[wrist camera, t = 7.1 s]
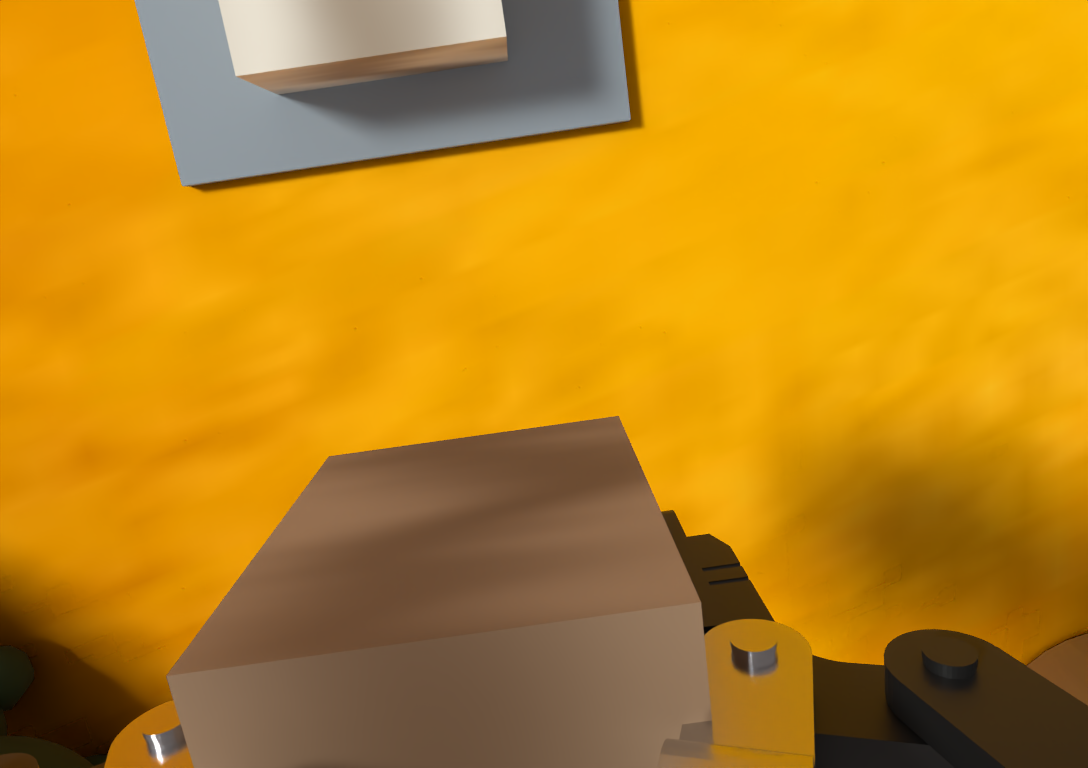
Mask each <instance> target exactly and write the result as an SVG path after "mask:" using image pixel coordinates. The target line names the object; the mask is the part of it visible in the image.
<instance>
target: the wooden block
mask: <svg viewBox="0 0 1088 768" xmlns="http://www.w3.org/2000/svg"><path fill="white" fill-rule="evenodd" d="M218 2H219V6H220V10H221V15H222V19H223V23H224V28H225V32H226V36H227V41H228V45H229V49H230V54H231V58H232V63H233V67H234V71H235V76H236V77H238V78H241V79H243V80H245V81H248V82H250V83H252V84H254V85H257V86H259V87H261V88H264V89H266V90H268V91H271V92H273V93H275V94H277V95H280V94H287V93H293V92H300V91H307V90H314V89H321V88H327V87H334V86H341V85H348V84H354V83H361V82H368V81H375V80H382V79H388V78H395V77H402V76H409V75H415V74H422V73H429V72H436V71H442V70H449V69H456V68H463V67H470V66H476V65H483V64H490V63H497V62H503V61H508V55H507V36H506V29H505V22H504V15H503V8H502V1H501V0H218Z"/></svg>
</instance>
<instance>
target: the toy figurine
mask: <svg viewBox="0 0 1088 768" xmlns="http://www.w3.org/2000/svg"><path fill="white" fill-rule="evenodd" d="M33 680H34V668H33V666H32V664H31V662H30V660H29V658H28V656H27V653H25V652H23V651H21V650H19V649H17V648H15V647H13V646H11V645H9V646H0V755H3V754H9V753H25V754H29V755H31V756H33V757H34V758H35V759H36V760H37V763H38V765H39V768H91V767H93V766H96V765H99V764H102V763H104V762H106V759H107V755H92V756H88V757H85V758H83V757H82V756H80V755H79V754H77V753H76V752H74V751H72V750H70V749H68V748H66V747H64V746H62V745H59V744H56V743H53V742H50V741H47V740H43V739H39V738H32V737H26V736H7V723H6V719H5V715H4V711H8V710H11V709H12V708H13V707H14V705H15V704H16V703H17V702H18V700H19V699H20V698H21V697H22V695H23V694H24V693H25V691H26V690H27V688H28V687H29V686H30V684H31V683H32V681H33Z"/></svg>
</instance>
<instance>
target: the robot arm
mask: <svg viewBox="0 0 1088 768" xmlns="http://www.w3.org/2000/svg"><path fill="white" fill-rule="evenodd" d="M661 513H662V515H663V518H664V520H665V522H666V524H667V527H668V529H669V531H670V533H671V536H672V538H673V540H674V542H675V545H676V547H677V549H678V551H679V554H680V556H681V558H682V560H683V563H684V565H685V567H686V569H687V572H688V574H689V576H690V578H691V581H692V583H693V585H694V587H695V590H696V592H697V594H698V597H699V599H700V601H701V608H702V618H703V629H704V640H705V650H706V661H707V672H708V682H709V693H710V704H711V714H712V720H711V721H704V722H696V723H689V724H682V728H681V733H680V737H679V740H678V739H669V738H667V739H666V740H665V741H664V743H663V746H662V748H661V752H660V756H659V760H658V764H657V768H1088V634H1084V635H1081V636H1078V637H1075V638H1072V639H1069V640H1066V641H1064V642H1062V643H1060V644H1059V645H1057V646H1055V647H1053V648H1051V649H1049V650H1047V651H1045V652H1044V653H1043V654H1042V655H1040V656H1039V657H1038V658H1036V659H1035V660H1034V661H1032V662H1031V663H1030V664H1028V665H1027V666H1026V665H1024V664H1023V663H1021V662H1019V661H1018V660H1016V659H1015V658H1013V657H1012V656H1010V655H1009V654H1007V653H1005V652H1004V651H1002V650H1001V649H999V648H998V647H996V646H994V645H992V644H991V643H989V642H986V641H984V640H982V639H980V638H977V637H974V636H971V635H968V634H964V633H960V632H955V631H948V630H937V629H931V630H918V631H912V632H908V633H905V634H902V635H900V636H898V637H896V638H895V639H893V640H892V641H891V642H890V643H889V644H888V645H887V647H886V649H885V653H884V665H871V664H857V663H846V662H837V661H832V660H828V659H824V658H820V657H817V656H814V655H812V650H811V647H810V645H809V643H808V641H807V640H806V639H805V638H804V637H803V636H802V635H801V634H800V633H799V632H797V631H795V630H794V629H792V628H790V627H788V626H786V625H783V624H780V623H777V622H775V621H774V619H773V618H772V616H771V614H770V613H769V611H768V609H767V608H766V606H765V604H764V603H763V601H762V599H761V598H760V596H759V594H758V593H757V591H756V589H755V588H754V586H753V584H752V583H751V581H750V580H748V576H747V574H746V572H745V571H744V569H743V567H742V566H740V562H739V561H738V559H737V557H736V556H735V554H734V552H733V551H732V549H731V547H730V546H729V545H727V544H725V543H724V542H722V541H720V540H719V539H717V538H715V537H714V536H712V535H710V534H705V535H697V536H690V537H686V535H685V533H684V531H683V529H682V527H681V524H680V522H679V520H678V518H677V516H676V514H675V512H674V511H673V510H670V511H663V512H661ZM0 768H39V765H38V763H37V760H36V759H35V758H34V757H33V756H31V755H29V754H25V753H9V754H3V755H0ZM91 768H194V766H193V763H192V760H191V756H190V753H189V750H188V747H187V743H186V740H185V737H184V733H183V730H182V727H181V723H180V720H179V717H178V713H177V710H176V707H175V704H174V700H171V701H168V702H165V703H163V704H161V705H159V706H156V707H154V708H153V709H151V710H149V711H147V712H145V713H144V714H142V715H141V716H139V717H138V718H136V719H135V720H133V721H132V722H131V723H130V724H128V725H127V726H126V727H125V728H124V729H123V730H122V731H121V732H120V733H119V734H118V735H117V737H116V738H115V739H114V741H113V743H112V744H111V746H110V749H109V752H108V755H107V759H106V762H104V763H102V764H99V765H96V766H93V767H91Z"/></svg>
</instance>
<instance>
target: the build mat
mask: <svg viewBox="0 0 1088 768" xmlns="http://www.w3.org/2000/svg"><path fill="white" fill-rule="evenodd" d="M501 1H502V8H503V15H504V22H505V29H506V36H507V55H508V61H503V62H497V63H490V64H483V65H476V66H470V67H463V68H456V69H449V70H442V71H436V72H429V73H422V74H415V75H409V76H402V77H395V78H388V79H382V80H375V81H368V82H361V83H354V84H348V85H341V86H334V87H327V88H321V89H314V90H307V91H300V92H293V93H287V94H280V95H277V94H275V93H273V92H271V91H268V90H266V89H264V88H261V87H259V86H257V85H254V84H252V83H250V82H248V81H245V80H243V79H241V78H238V77H236V76H235V71H234V67H233V63H232V58H231V54H230V49H229V45H228V41H227V36H226V32H225V28H224V23H223V19H222V15H221V10H220V6H219V2H218V0H135V4H136V8H137V12H138V15H139V19H140V23H141V27H142V31H143V35H144V39H145V43H146V47H147V51H148V55H149V59H150V62H151V66H152V70H153V74H154V78H155V82H156V86H157V90H158V94H159V98H160V102H161V105H162V109H163V113H164V117H165V121H166V125H167V129H168V133H169V137H170V141H171V145H172V148H173V152H174V156H175V160H176V164H177V168H178V172H179V176H180V180H181V184H182V186H195V185H202V184H209V183H216V182H222V181H229V180H236V179H243V178H249V177H256V176H263V175H270V174H276V173H283V172H290V171H297V170H303V169H310V168H317V167H324V166H331V165H337V164H344V163H351V162H358V161H364V160H371V159H378V158H385V157H391V156H398V155H405V154H412V153H418V152H425V151H432V150H439V149H446V148H452V147H459V146H466V145H473V144H479V143H486V142H493V141H500V140H506V139H513V138H520V137H527V136H533V135H540V134H547V133H554V132H561V131H567V130H574V129H581V128H588V127H594V126H601V125H608V124H615V123H621V122H628V121H630V120H631V117H630V108H629V99H628V90H627V80H626V71H625V62H624V53H623V43H622V34H621V25H620V15H619V6H618V0H501Z"/></svg>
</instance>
